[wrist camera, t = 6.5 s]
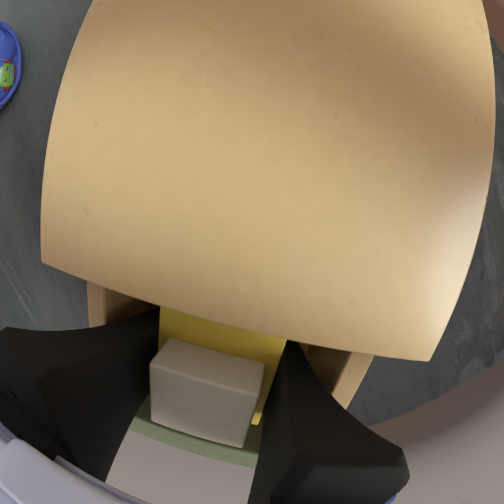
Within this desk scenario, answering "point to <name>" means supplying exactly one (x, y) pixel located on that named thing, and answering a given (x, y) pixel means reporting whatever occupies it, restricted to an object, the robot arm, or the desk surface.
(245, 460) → the drawer
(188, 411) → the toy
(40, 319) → the desk surface
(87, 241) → the cabinet
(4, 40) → the pencil case
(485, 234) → the desk surface
